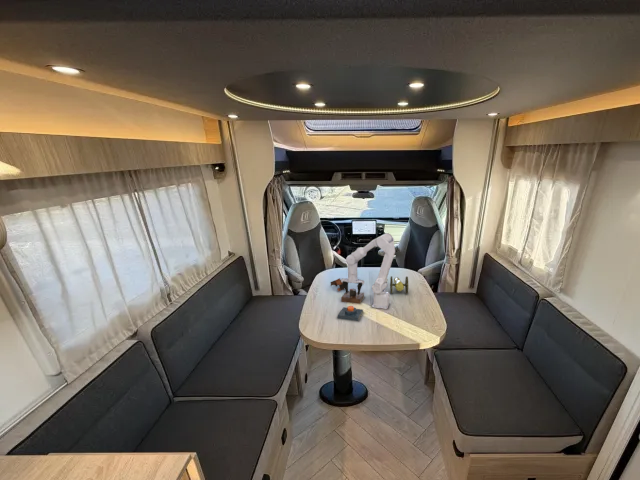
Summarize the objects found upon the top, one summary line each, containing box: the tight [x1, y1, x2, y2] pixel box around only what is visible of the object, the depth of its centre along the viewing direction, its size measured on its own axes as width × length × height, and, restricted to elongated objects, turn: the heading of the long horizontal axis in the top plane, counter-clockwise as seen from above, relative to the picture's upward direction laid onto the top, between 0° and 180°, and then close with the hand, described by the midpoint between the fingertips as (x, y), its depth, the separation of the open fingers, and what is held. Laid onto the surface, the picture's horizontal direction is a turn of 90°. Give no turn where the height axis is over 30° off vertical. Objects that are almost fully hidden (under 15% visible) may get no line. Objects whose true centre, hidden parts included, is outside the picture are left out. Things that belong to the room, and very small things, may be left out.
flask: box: [337, 306, 364, 322], centre depth 175 cm, size 12×10×4 cm
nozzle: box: [346, 305, 355, 311], centre depth 174 cm, size 4×4×2 cm
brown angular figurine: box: [329, 278, 345, 293], centre depth 211 cm, size 12×10×8 cm
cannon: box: [389, 275, 409, 295], centre depth 208 cm, size 25×12×11 cm, turn 179°
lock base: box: [340, 290, 365, 305], centre depth 195 cm, size 12×10×3 cm
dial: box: [349, 288, 357, 296], centre depth 194 cm, size 4×4×4 cm
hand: (352, 293), depth 194 cm, fingers open, 7 cm apart
